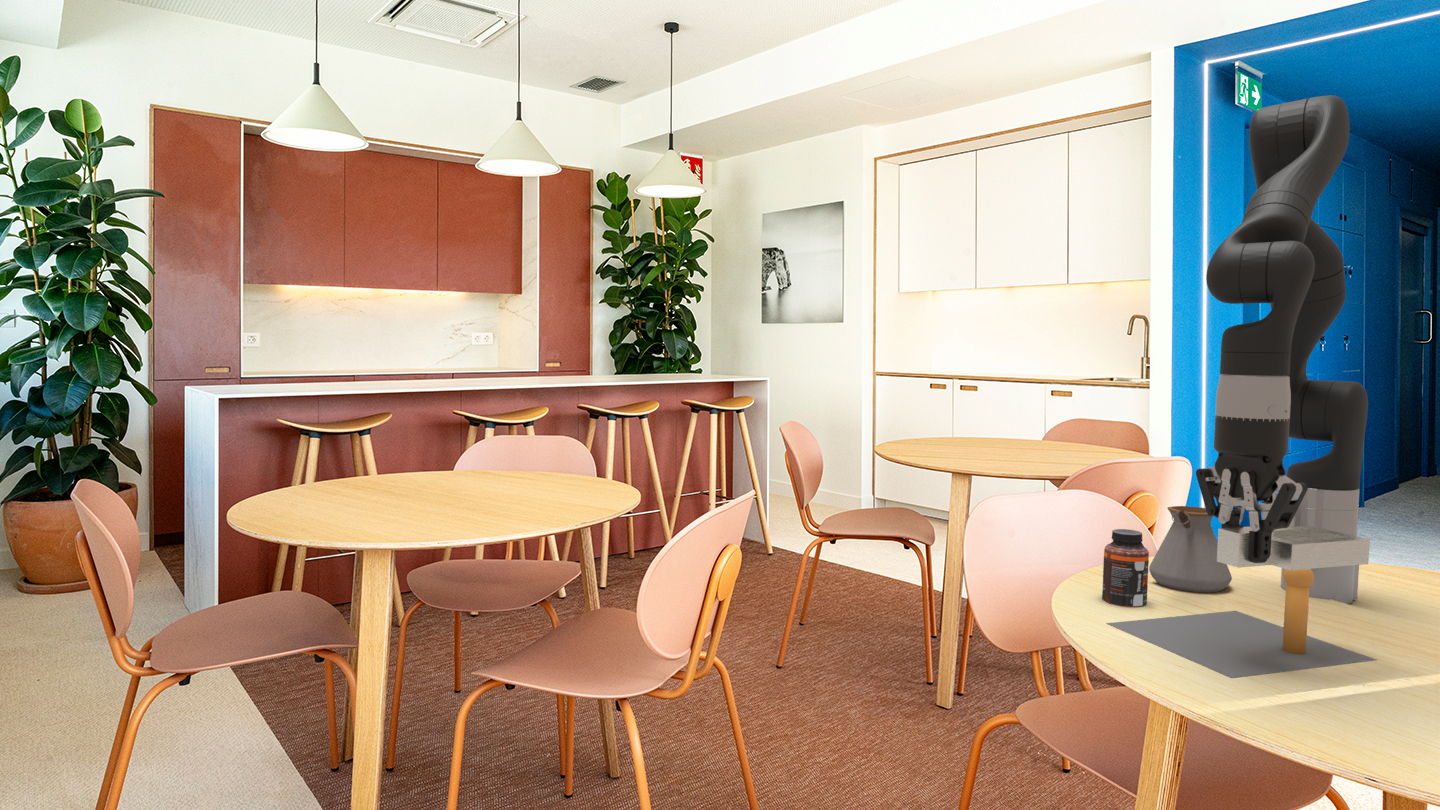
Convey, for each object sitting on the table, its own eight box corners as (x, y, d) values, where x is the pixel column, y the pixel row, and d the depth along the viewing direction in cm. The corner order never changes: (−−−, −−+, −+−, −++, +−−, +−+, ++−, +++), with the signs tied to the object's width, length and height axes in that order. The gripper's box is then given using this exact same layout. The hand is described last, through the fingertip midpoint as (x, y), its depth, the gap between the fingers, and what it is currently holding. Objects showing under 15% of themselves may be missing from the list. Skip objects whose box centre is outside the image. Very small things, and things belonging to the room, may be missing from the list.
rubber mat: (1235, 617, 124) (1235, 610, 124) (1376, 667, 105) (1377, 659, 105) (1105, 630, 118) (1105, 623, 118) (1231, 686, 99) (1231, 677, 99)
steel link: (1306, 548, 112) (1308, 518, 112) (1368, 564, 105) (1370, 530, 105) (1199, 556, 108) (1201, 524, 107) (1256, 572, 100) (1258, 538, 100)
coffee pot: (1154, 576, 146) (1158, 487, 145) (1233, 588, 140) (1238, 494, 139) (1131, 607, 128) (1136, 506, 127) (1221, 622, 122) (1227, 515, 121)
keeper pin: (1292, 645, 110) (1297, 559, 109) (1316, 654, 107) (1321, 565, 106) (1272, 647, 109) (1277, 561, 108) (1295, 656, 106) (1300, 567, 105)
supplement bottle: (1151, 615, 125) (1155, 536, 124) (1106, 612, 126) (1110, 534, 125) (1140, 603, 131) (1143, 528, 130) (1097, 600, 132) (1100, 526, 131)
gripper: (1333, 418, 98) (1323, 571, 99) (1227, 409, 111) (1220, 543, 112) (1280, 419, 96) (1272, 575, 97) (1179, 409, 109) (1172, 547, 110)
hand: (1244, 557), depth 104 cm, fingers closed on steel link, 3 cm apart
